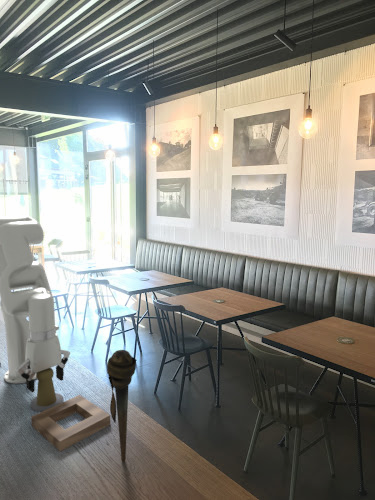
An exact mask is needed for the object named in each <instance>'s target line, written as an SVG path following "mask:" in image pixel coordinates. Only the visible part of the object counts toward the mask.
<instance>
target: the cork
mask: <svg viewBox="0 0 375 500" xmlns="http://www.w3.org/2000/svg"><path fill="white" fill-rule="evenodd" d="M52 368H53V367H51V368H48V369H46V370H43V371H40V372H37V373H36V380H37V381H38V382H37V391H36V392H37V393H36V394H37V395H36V397H37V405H38V406H49V405H52V404H54V403H55V402H56V394H55V393H56V391H55V385H54V380H53V377H54V375H55V374H54V369H52Z"/></svg>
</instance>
